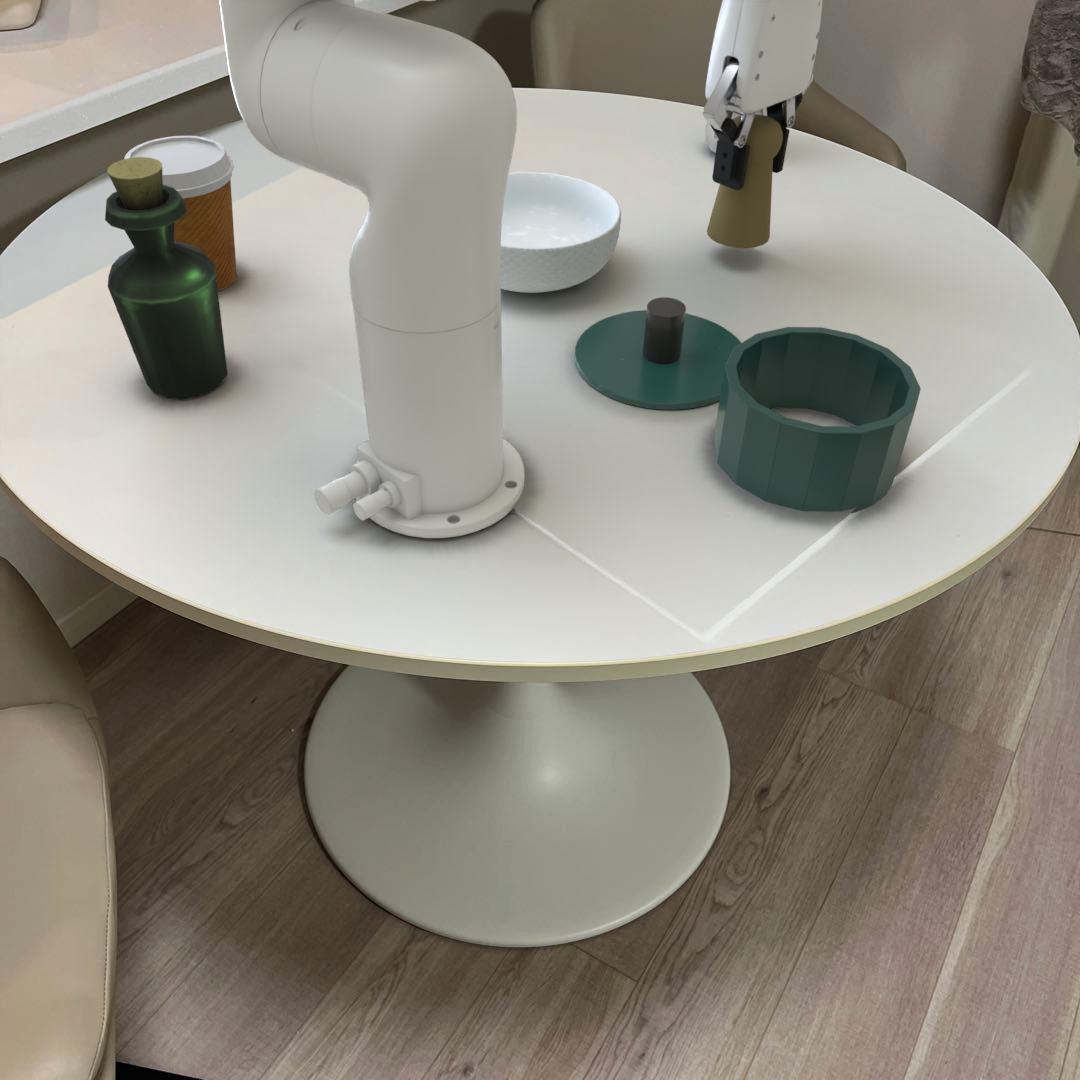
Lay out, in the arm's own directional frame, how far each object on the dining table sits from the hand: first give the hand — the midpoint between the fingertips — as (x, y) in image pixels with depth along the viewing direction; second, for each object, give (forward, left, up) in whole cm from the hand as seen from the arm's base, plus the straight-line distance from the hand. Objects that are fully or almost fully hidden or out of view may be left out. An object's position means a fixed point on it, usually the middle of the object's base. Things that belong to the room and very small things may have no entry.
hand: (747, 174), depth 98 cm
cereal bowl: (-16, +12, -9) cm, 22 cm away
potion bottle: (-49, +19, -9) cm, 54 cm away
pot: (-21, -23, -9) cm, 33 cm away
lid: (-19, -7, -8) cm, 22 cm away
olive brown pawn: (0, 0, -6) cm, 6 cm away
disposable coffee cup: (-39, +33, -9) cm, 52 cm away
